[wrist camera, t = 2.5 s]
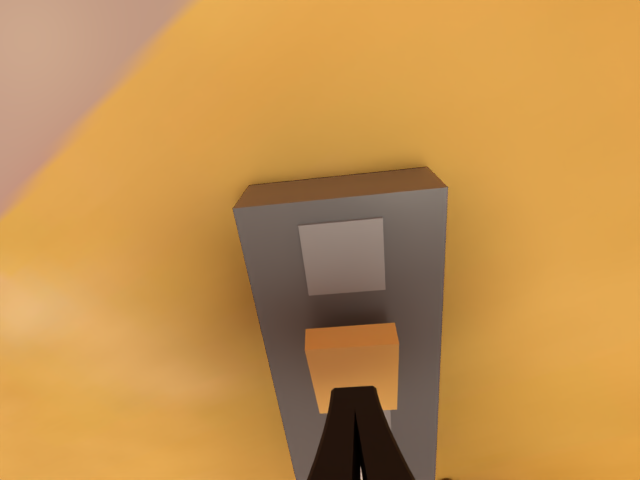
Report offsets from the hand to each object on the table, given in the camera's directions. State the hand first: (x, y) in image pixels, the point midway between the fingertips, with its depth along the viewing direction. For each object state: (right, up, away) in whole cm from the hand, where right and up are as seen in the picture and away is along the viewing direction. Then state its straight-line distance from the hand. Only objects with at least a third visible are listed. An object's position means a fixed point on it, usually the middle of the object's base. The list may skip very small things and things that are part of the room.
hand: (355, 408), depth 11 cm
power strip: (+1, -1, +9) cm, 9 cm away
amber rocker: (0, 0, +4) cm, 4 cm away
